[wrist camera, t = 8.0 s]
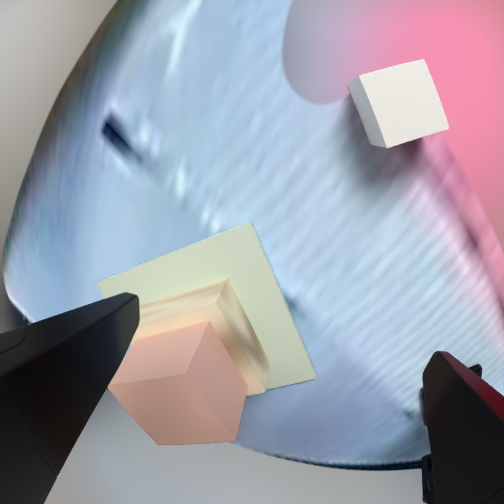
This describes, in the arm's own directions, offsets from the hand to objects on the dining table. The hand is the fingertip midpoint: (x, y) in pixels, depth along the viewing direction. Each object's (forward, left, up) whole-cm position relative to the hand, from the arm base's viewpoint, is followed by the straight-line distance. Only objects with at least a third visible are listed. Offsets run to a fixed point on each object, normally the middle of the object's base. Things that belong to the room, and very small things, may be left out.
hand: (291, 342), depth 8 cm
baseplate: (-6, +10, -13) cm, 18 cm away
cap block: (+5, -8, -13) cm, 16 cm away
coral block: (-6, +10, -9) cm, 15 cm away
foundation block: (-6, +10, -12) cm, 17 cm away
